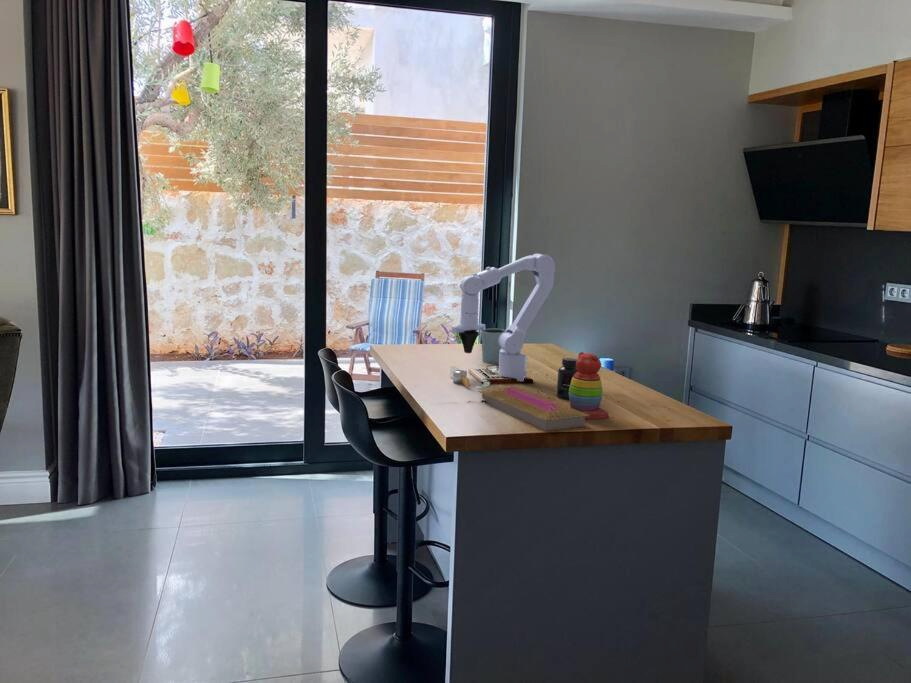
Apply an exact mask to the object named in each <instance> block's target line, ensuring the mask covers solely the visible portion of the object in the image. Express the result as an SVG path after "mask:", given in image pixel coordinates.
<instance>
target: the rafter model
mask: <svg viewBox="0 0 911 683" xmlns="http://www.w3.org/2000/svg"><path fill="white" fill-rule="evenodd" d="M477 393H480V394H481V398H482V399H483V400H481V402H482V403H483V402H484V403H483V404H486V405H488V406H490V407H491V408H494V407H495V409H497V410H499V409H500V410H499V411H501V410H502V411H501V412H503V411H504V412H503V413H505V412H506V413H505V414H508V415H509V416H512V415H513V417H514V416H515V418H516V417H517V418H516V419H518V418H519V420H520V421H523V420H524V421H523V422H525V421H526V422H525V423H527V422H528V423H527V424H529V423H531V424H530V425H532V424H533V425H532V426H534V425H535V426H534V427H536V426H537V427H536V428H538V427H539V429H540V428H541V430H542V429H543V430H542V431H545V430H548V431H554V429H557V430H563V428H565V429H571V428H570V427H573V428H580V427H579V426H581V427H585V423H586V421H585V420H586V419H585V416H590V415H587V414H585V413H582V412H580V411H577V410H575V409H572V408H570V407H571V406H568V405H567V406H566V405H565V404H561V403H559V402H556V401H554V400H551V399H550V398H546V397H543V396H541V395H539V394H537V393H533V392H531V391H529V390H526V389H523V388H520V387H519V386H518V387H517V386H513V385H509V386H504V387H497V388H491V389H490V388H489V389H485V390H484V389H483V390H478V391H477ZM574 411H575V412H574ZM584 414H585V415H584Z"/></svg>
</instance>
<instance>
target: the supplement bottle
mask: <svg viewBox="0 0 911 683" xmlns="http://www.w3.org/2000/svg"><path fill="white" fill-rule="evenodd" d="M577 359H578V358H574V357H573V358H572V357H563V358H562V360H561V366H560V367H559V368H558V370H557V380H556V382H557V383H556V397H557V398H560V399H564V400H570V399H569V387H570V384H571V380H572V378H573V377H574V374H575V373H576V372H578V370H577V367H576V361H577Z"/></svg>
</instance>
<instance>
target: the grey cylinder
mask: <svg viewBox="0 0 911 683" xmlns="http://www.w3.org/2000/svg"><path fill="white" fill-rule="evenodd" d="M506 330H507V329H502V328H485V330H480V336H481V337H480V338H481V351H482V353H481V354H482V356H481V357H482V358H481V359H482V362H483V363H485V364H491V365H493V364H494V365H497V364H498V365H499V353H500V349H501V346H500V345H499V342H498V339H499V336H500V335H501V334H502V333H503V332H505V331H506Z"/></svg>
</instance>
